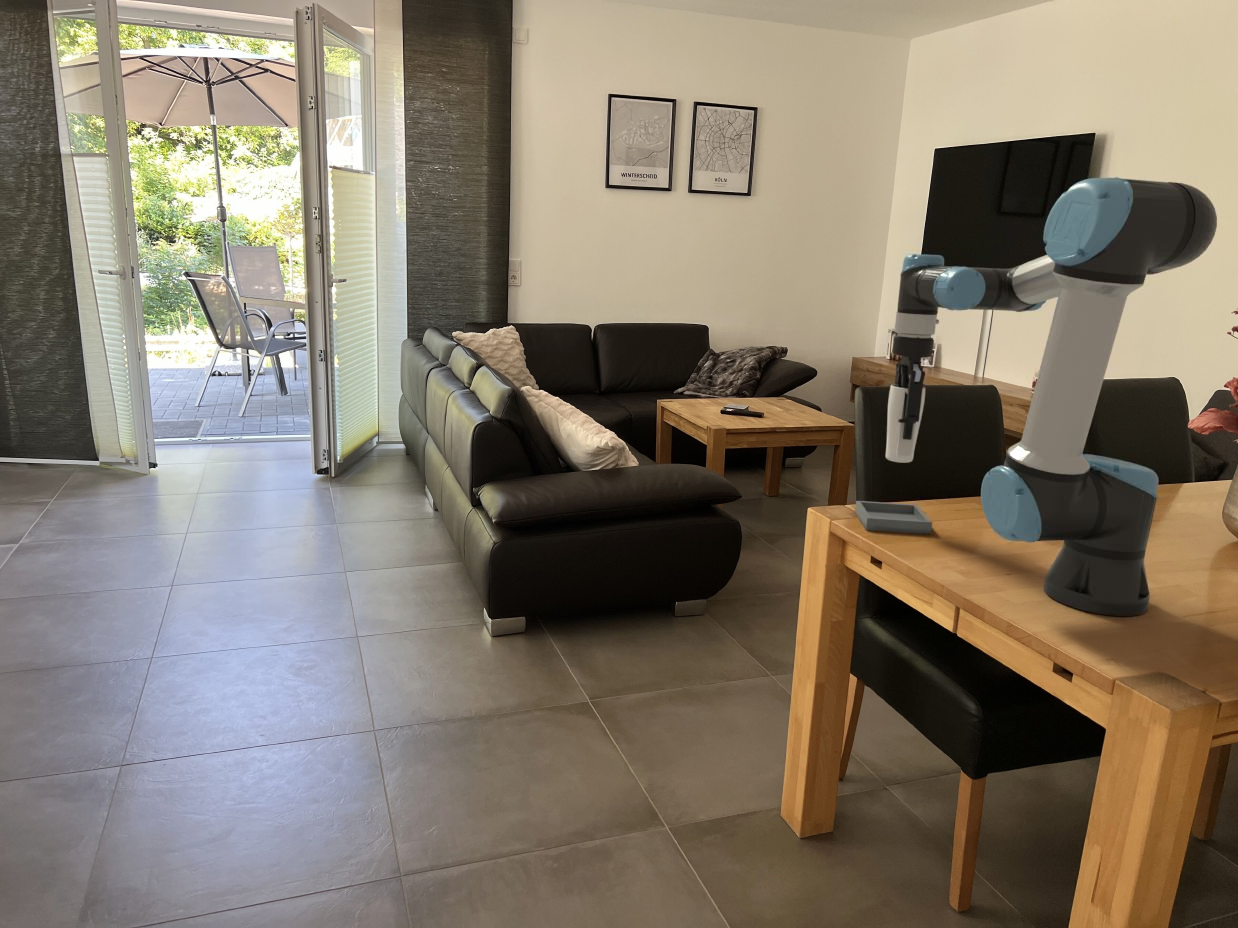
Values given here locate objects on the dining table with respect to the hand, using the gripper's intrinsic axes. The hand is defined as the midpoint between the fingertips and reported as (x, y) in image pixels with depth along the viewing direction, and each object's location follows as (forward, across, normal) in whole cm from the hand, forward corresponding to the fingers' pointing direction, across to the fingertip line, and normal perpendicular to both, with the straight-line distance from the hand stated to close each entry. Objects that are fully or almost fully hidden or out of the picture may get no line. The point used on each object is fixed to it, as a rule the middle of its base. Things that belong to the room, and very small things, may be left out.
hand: (899, 450), depth 177 cm
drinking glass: (+2, 0, 0) cm, 2 cm away
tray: (+15, 0, 0) cm, 15 cm away
